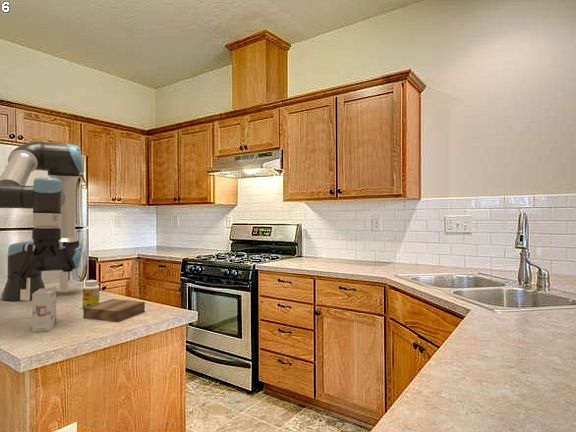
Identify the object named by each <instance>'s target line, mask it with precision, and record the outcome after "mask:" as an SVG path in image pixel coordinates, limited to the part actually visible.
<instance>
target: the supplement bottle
mask: <svg viewBox="0 0 576 432" xmlns="http://www.w3.org/2000/svg"><path fill="white" fill-rule="evenodd" d="M98 303H100V285H98V280H95V279H89V280H85V282H84V286H83V287H82V308H84V307H88V306H91V305H94V304H98Z"/></svg>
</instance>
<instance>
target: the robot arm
mask: <svg viewBox="0 0 576 432" xmlns="http://www.w3.org/2000/svg"><path fill="white" fill-rule="evenodd" d="M34 171H43V172H44V171H46V172H47V177H42V176H41V177H35V178H34V179H33V182H32V183H33V185H27V182H28V180H29V178H30V176H31V173H33V172H34ZM84 171H85V170H84V161H83V154H82V150H81V147H80V146H78V145H76V144H69V143H60V142H58V143H56V142H44V141H31V142H27V143H25V144H22V145H19V146H18V147H16V148H15V149H12V151H11V152H10V153H9V155H8V158H7V165H6V166H5V168H4V170H3V171H2V173H1V175H0V209H27V210H28V209H29V210H30V209H31V210H32V216H31V217H32V219H31V221H32V222H31V225H32V226H31V227H33V229H32V230H31V239H32V240H29V241H21V242H15V243H12V244H10V245H9V246H8V250H7V255H6V257H7V275H6V276H7V277H6V278H7V280H6V283H5V285H4V288H3V290H2V293H1V300H2V301H8V302H19V301H20V302H21V301H32V294H33V293H35V292H36V291H37V290H39V289H43V288H46V287H45V284H44V281H43V278H42V273H43V272H51V271H52V272H53V271H57V272H58V271H59V292H60V293H68V292H69V281H70V278H71V277H70V275H71V274H70V272H73V271H74V270H77V269H78V268H79V267H80V262H81V257H82V253H83V246H84V245H83V243H81V242H80V238H78V236H76V191H77V190H76V187H77V186H76V183H77V182H76V181H77V180H78V179H79V178H80V176H81V174H83V173H84Z"/></svg>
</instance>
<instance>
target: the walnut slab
mask: <svg viewBox="0 0 576 432" xmlns="http://www.w3.org/2000/svg"><path fill="white" fill-rule="evenodd" d="M145 304H146V302H145V301H137V300H127V299H116V298H111V299H108V300H104V301H101V302H99V303H98V304H94V305H91V306H88V307H84V308H83V307H82V308H83V316H82V318H83V319H88V320H95V321H104V322H105V321H106V322H107V321H108V322H114V323H120V322H122V321H125V320H128V319H129V318H132V317H135V316H137V315H140V314H143V313H145V309H146V305H145Z"/></svg>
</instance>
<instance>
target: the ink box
mask: <svg viewBox="0 0 576 432" xmlns="http://www.w3.org/2000/svg"><path fill="white" fill-rule="evenodd" d="M31 309H32V310H31V313H32V314H31V319H32V322H31V323H32V327H31V328H32V329H31V330H32V333H39V332H41V333H42V332H50V331H52V330H53V328H54V327H55V325H56V324H57V287H45V288H43V289H39V290H37V291H36V292H35V293H33V294H32V299H31Z"/></svg>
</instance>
